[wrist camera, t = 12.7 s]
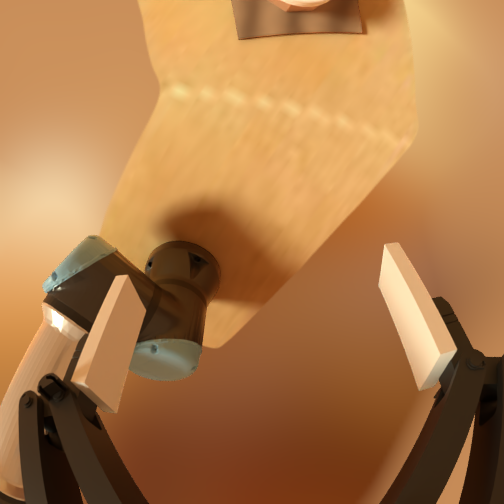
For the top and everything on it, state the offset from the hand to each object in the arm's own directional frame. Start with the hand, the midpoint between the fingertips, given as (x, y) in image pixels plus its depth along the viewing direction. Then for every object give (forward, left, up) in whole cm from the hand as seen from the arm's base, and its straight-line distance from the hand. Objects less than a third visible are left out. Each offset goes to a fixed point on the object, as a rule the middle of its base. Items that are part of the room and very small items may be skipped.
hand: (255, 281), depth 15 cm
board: (+9, +22, -35) cm, 42 cm away
